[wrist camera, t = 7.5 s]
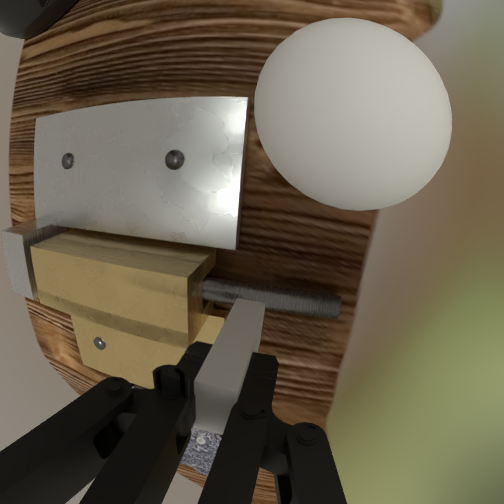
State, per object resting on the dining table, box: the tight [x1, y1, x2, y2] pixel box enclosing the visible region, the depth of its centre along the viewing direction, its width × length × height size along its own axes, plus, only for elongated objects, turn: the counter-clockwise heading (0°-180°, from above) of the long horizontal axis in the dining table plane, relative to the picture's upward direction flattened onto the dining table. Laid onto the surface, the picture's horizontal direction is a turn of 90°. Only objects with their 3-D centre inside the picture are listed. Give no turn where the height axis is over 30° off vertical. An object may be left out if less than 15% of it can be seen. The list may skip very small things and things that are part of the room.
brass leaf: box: [30, 228, 228, 389], centre depth 19 cm, size 13×14×5 cm
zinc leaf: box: [1, 97, 341, 319], centre depth 16 cm, size 13×24×5 cm, turn 85°
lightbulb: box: [254, 18, 452, 211], centre depth 10 cm, size 6×6×11 cm
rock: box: [132, 385, 222, 476], centre depth 23 cm, size 12×5×10 cm
